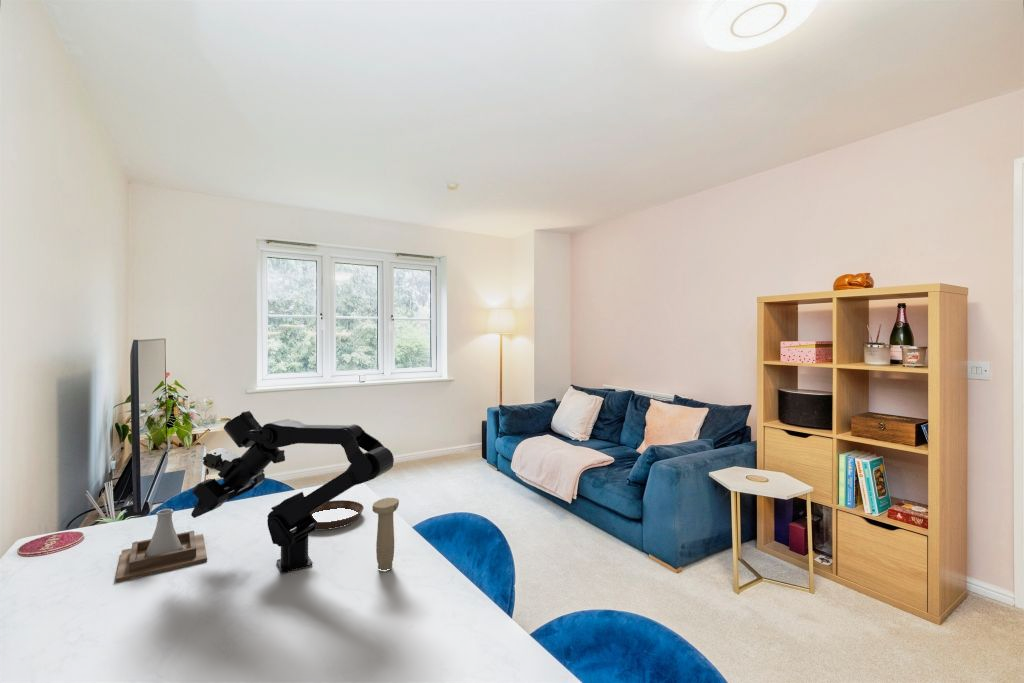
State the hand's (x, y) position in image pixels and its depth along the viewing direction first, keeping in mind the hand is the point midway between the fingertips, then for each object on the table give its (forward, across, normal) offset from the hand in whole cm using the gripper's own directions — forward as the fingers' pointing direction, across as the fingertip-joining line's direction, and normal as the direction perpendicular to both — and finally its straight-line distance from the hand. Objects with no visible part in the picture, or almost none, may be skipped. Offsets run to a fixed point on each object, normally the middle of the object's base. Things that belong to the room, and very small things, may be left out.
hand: (207, 508), depth 108 cm
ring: (-5, -24, +22) cm, 33 cm away
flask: (+15, 0, 0) cm, 15 cm away
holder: (+15, 0, +1) cm, 15 cm away
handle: (-22, +3, +39) cm, 45 cm away
